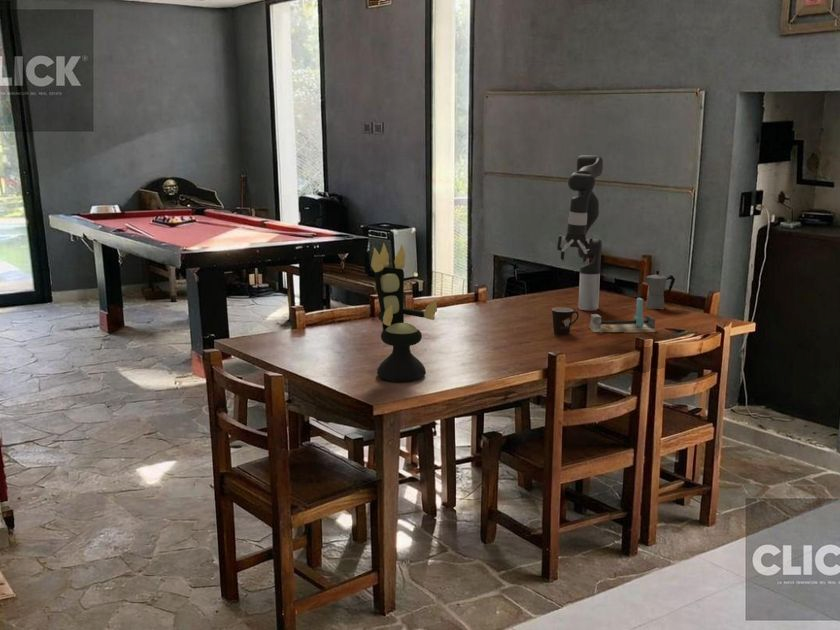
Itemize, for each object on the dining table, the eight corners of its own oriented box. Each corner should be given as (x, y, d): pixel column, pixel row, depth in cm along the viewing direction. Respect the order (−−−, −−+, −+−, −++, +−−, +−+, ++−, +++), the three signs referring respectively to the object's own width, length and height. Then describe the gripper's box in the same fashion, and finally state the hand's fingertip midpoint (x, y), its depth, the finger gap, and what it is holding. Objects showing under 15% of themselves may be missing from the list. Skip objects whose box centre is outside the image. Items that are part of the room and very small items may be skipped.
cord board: (648, 327, 363) (649, 312, 361) (655, 332, 355) (656, 316, 353) (589, 328, 361) (589, 313, 359) (594, 332, 353) (595, 317, 351)
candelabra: (391, 387, 278) (390, 251, 268) (357, 371, 296) (355, 243, 286) (437, 378, 288) (439, 247, 279) (402, 363, 306) (402, 239, 297)
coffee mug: (552, 335, 348) (553, 311, 346) (550, 330, 356) (550, 307, 354) (580, 335, 348) (582, 312, 346) (577, 331, 356) (578, 307, 354)
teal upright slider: (640, 324, 360) (641, 297, 357) (643, 326, 356) (645, 299, 353) (633, 324, 360) (635, 297, 357) (636, 326, 356) (638, 299, 353)
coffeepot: (645, 310, 397) (648, 272, 393) (638, 306, 406) (640, 269, 402) (677, 309, 399) (679, 271, 395) (668, 305, 408) (671, 268, 404)
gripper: (594, 222, 349) (590, 260, 353) (560, 219, 351) (556, 257, 356) (595, 225, 342) (590, 264, 346) (559, 222, 344) (555, 261, 349)
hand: (573, 261), depth 351 cm, fingers open, 8 cm apart
